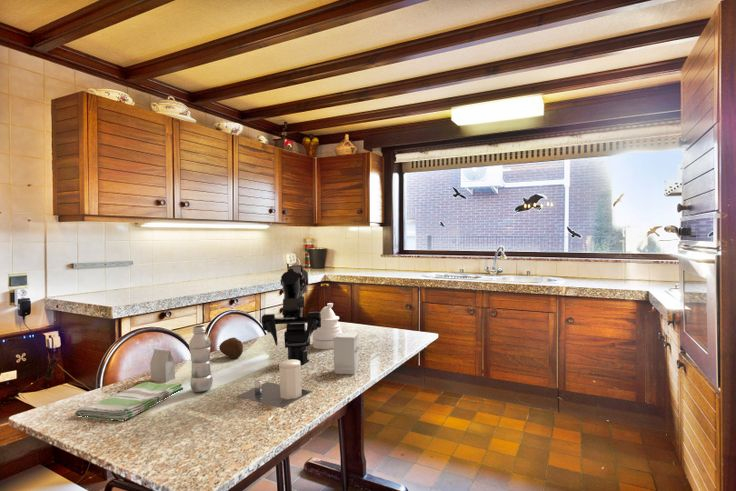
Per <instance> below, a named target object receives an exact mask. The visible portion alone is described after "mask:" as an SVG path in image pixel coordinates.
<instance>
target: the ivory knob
mask: <svg viewBox="0 0 736 491" xmlns="http://www.w3.org/2000/svg"><path fill="white" fill-rule="evenodd" d="M278 363H279V365H278V366H279V368H278V370H279V384H280V396H281V398H284V399H294V398H297V397H299V396H301V395H302V389H303V388H302V364H301V365H300V361H299V360H294V359H291V360H288V359H285V360H282V361H280V362H278Z"/></svg>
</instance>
